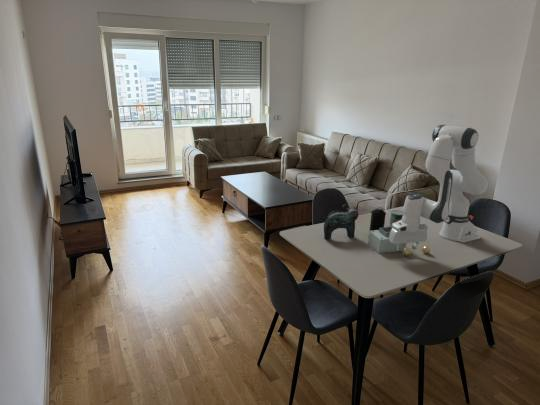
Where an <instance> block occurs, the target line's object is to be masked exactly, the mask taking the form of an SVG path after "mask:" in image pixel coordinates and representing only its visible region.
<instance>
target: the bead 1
mask: <svg viewBox="0 0 540 405" xmlns="http://www.w3.org/2000/svg"><path fill="white" fill-rule="evenodd" d="M401 253H402V255H403V256H405V257H408V256H410V254H411V250H410V249H409V248H407V247H406V248H405V249H403V250H402V251H401Z"/></svg>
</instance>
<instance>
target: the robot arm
mask: <svg viewBox="0 0 540 405" xmlns="http://www.w3.org/2000/svg"><path fill="white" fill-rule="evenodd" d="M431 139H432V144H431V146H430V148H429V151H428V153H427V157H426V159H425V169H426V171H427V173H429V175H431V177H434V178H435V180H436V181H438V183H439V193H438V198H437V199H438V200H437V201H434V200H432V199H429V198H426V197H423V194H420V193H417V192H415V193H413V192H412V193H409V194H408V195H406V198H405V199H404V205H403V210H402V212H403V217H402V220H400V221H398V222H395V223H393V224H392V227H393V228H392V229H391V231H390V235H389V241H390V242H391V243H392V244H395V245H396V250H397V251H398V252H401V251H400V249H401V248H400V247H399V245H400V243H407V244H408V243H409V244H411V243H414V244H413V245H412V246H411V249H412V250H417V248H418V246H419V245H420V243H421V242H426V241H427V238H428V225H427V224H426V223H422V224H421V218H423V219H427V220H430V221H431V222H434V223H436V224H440V223H443V224H442V226H441V229H440V231H439V235H440V236H441V237H442V238H444V239H447V240H450V241H455V242H459V243H467V242H471V241H476V240H480V239H481V235H480V234H478V233H477V227H476V225H475V224H473V223H472V222H471V221H470V220H473V219H474V216H473V215H469V209H470V200H469V199H468V198H467V197H466V196H465V195H464V193H467V194H471V195H483V194H484V193H485V192H486V191H487V189H488V187H489V181H488V179H487V177H485V176H484V175H483V174H482V173H481V172H480V171H479V169H478V167H477V164H476V158H475V157H476V154H475V153H476V145H477V144H478V141H479V133H478V131H477V130H476V129H475V128H473V127H472V128H471V127H465V126H462V125H449V124H448V125H446V124H438V125H437V126H436V127H435V128H434V129H433V131H432V134H431ZM450 164H452V166H453V167H454V168H455V169H451V167H450Z"/></svg>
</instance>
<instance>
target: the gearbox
mask: <svg viewBox="0 0 540 405" xmlns="http://www.w3.org/2000/svg"><path fill="white" fill-rule="evenodd" d="M391 229H392V227H389V226H384V227H382V228H379V230H372V231H370V230H369V231H368V236H369V238H368V237H367V238H368V240H367V245H368V246H370V247H371V248H372V249H373V250H374V251H376V253H377V254H387V253H398V252H402V250H403V249H405V248H407V244H408V243H400V245H399V247H400V248H401V249H400V251H397V250H396V245H395V244H392V243H391V242H390V241H389V235H390V231H391Z"/></svg>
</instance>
